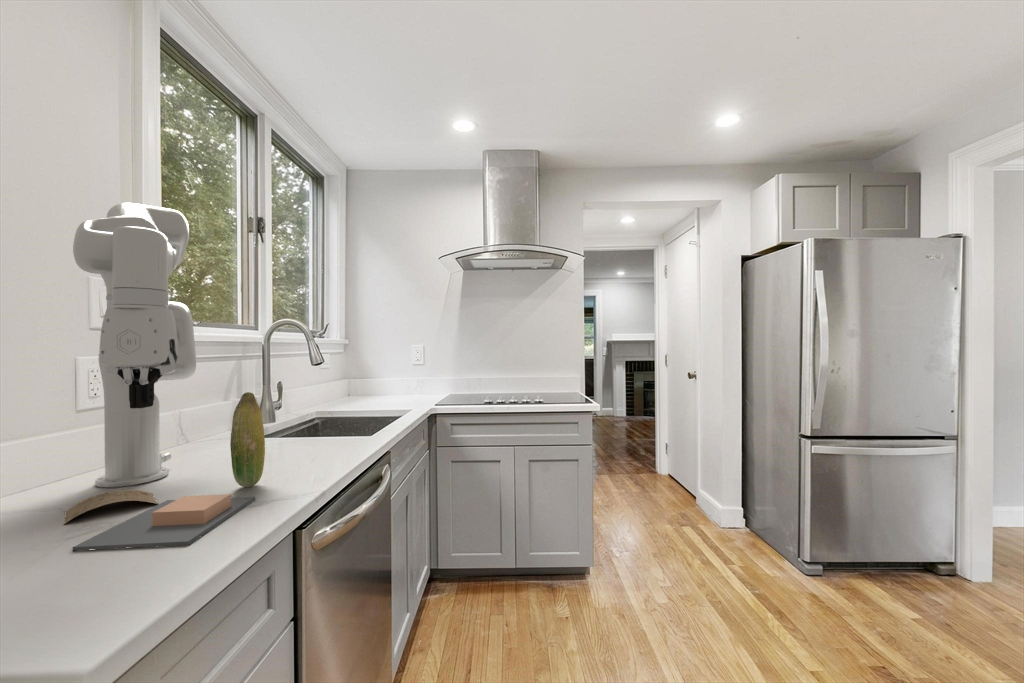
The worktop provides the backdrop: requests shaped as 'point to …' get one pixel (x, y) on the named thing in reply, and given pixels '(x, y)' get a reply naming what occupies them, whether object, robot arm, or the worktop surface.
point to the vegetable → (247, 441)
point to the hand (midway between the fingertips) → (141, 407)
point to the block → (191, 510)
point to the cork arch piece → (108, 501)
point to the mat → (157, 530)
